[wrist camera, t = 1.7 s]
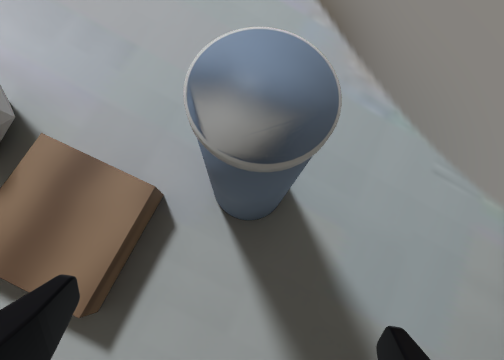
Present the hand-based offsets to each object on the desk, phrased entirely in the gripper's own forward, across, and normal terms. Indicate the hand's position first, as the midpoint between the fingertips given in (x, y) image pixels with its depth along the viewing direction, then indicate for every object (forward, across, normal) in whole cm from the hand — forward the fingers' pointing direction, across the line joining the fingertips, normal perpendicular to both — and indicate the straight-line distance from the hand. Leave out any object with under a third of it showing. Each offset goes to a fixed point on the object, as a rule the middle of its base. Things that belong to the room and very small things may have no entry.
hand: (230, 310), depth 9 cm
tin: (+14, 0, +4) cm, 15 cm away
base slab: (+11, +12, +8) cm, 18 cm away
